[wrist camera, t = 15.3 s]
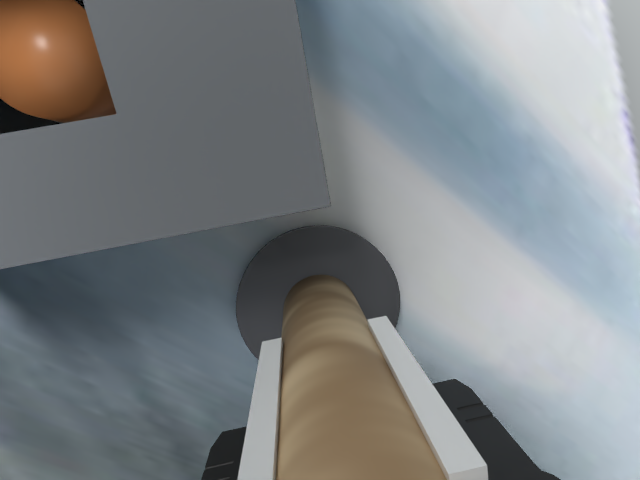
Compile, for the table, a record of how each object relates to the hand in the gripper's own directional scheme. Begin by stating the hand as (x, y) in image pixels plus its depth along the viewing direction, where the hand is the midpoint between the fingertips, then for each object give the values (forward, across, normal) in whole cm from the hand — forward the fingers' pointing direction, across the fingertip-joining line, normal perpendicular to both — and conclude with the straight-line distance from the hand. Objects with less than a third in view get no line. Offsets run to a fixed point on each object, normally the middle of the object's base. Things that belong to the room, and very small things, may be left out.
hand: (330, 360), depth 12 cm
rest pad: (+6, 0, 0) cm, 6 cm away
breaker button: (+4, -8, +13) cm, 16 cm away
